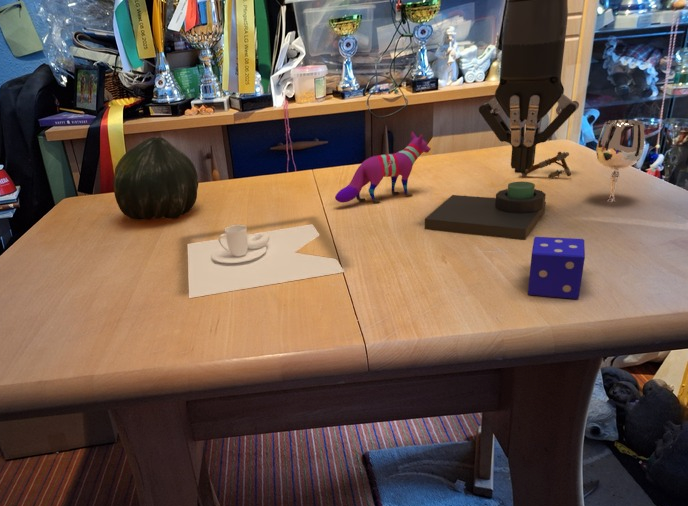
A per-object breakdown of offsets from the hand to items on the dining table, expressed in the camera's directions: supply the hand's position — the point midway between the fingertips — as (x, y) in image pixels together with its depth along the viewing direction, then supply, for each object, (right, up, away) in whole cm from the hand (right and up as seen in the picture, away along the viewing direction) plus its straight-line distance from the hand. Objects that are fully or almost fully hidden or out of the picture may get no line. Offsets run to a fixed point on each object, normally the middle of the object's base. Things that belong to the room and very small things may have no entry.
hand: (521, 171), depth 80 cm
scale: (-4, -7, +3) cm, 8 cm away
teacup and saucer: (-37, -12, 0) cm, 40 cm away
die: (-4, -17, -18) cm, 25 cm away
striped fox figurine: (-17, -1, +17) cm, 24 cm away
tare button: (0, -3, +2) cm, 4 cm away
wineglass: (+14, -5, +3) cm, 15 cm away
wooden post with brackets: (+12, +3, +19) cm, 23 cm away
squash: (-56, -3, +22) cm, 60 cm away
